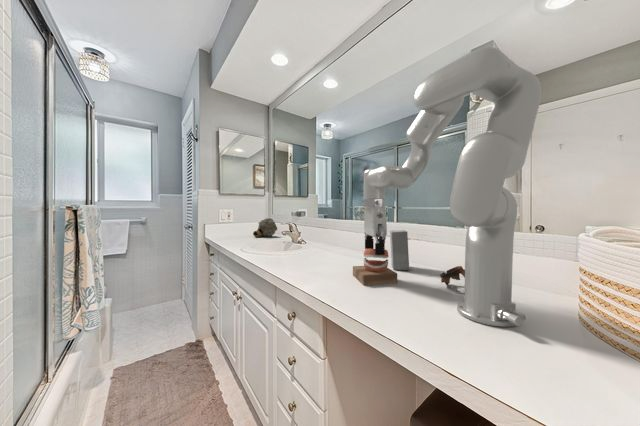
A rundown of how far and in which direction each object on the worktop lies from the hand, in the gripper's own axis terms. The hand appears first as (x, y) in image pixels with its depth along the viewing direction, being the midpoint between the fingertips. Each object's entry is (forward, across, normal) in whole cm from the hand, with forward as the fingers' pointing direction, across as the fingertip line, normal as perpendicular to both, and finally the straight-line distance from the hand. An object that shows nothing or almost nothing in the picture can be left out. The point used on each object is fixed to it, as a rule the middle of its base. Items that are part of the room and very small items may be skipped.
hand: (374, 251), depth 89 cm
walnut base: (+10, 0, 0) cm, 11 cm away
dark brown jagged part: (+10, -14, -23) cm, 29 cm away
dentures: (+7, 0, 0) cm, 7 cm away
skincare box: (+10, +12, -16) cm, 22 cm away
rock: (+10, +121, +45) cm, 129 cm away
